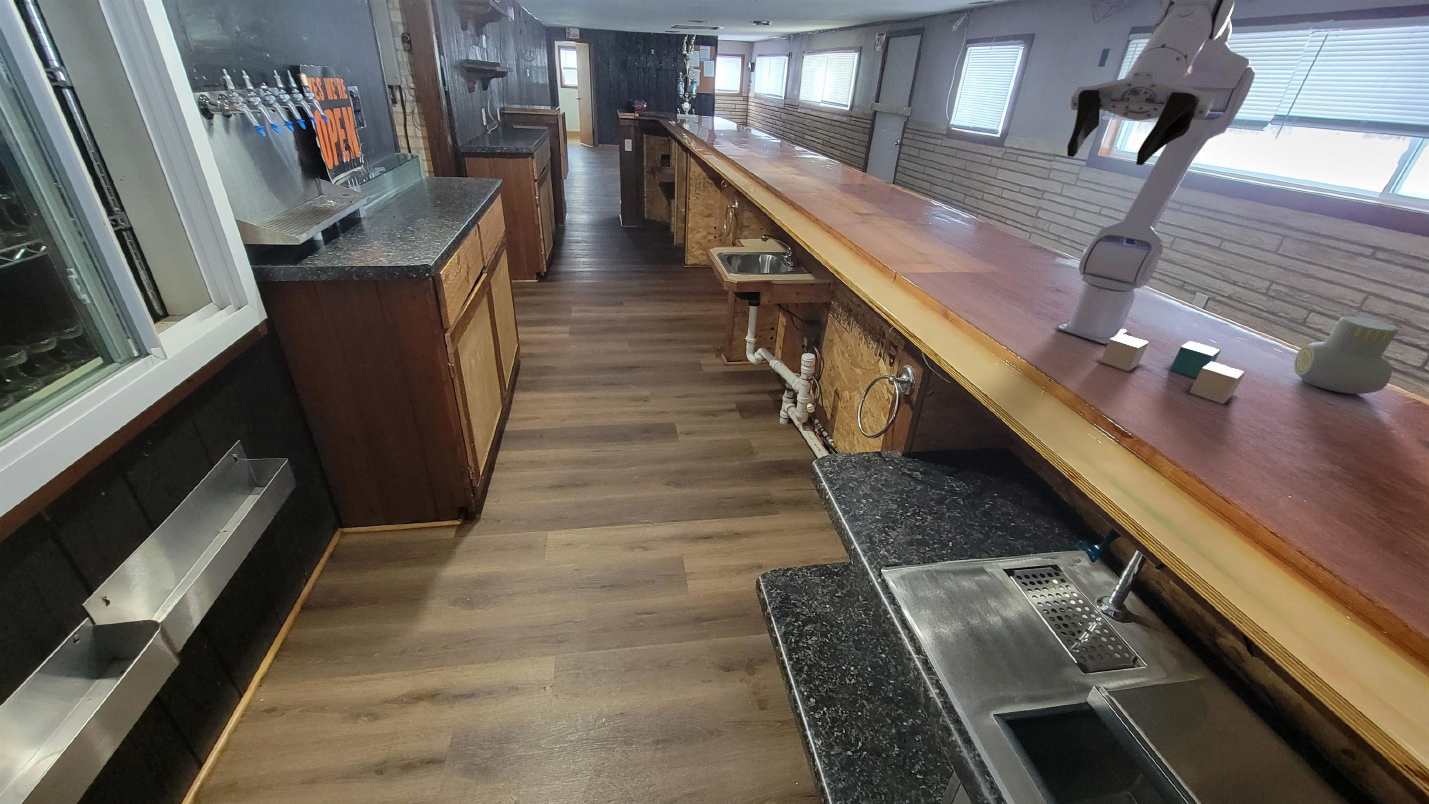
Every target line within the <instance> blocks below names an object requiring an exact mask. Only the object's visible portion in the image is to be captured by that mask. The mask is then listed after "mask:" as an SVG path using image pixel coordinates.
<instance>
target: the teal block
mask: <svg viewBox="0 0 1429 804" xmlns="http://www.w3.org/2000/svg"><path fill="white" fill-rule="evenodd" d="M1220 353H1221V349H1219V348H1216V347H1213V346H1209V345H1206V344H1202V343H1199V342H1195V341H1192V340H1189V341H1188V342H1186V343H1184V344H1183V345H1181V346H1180V348H1179V350H1178V351H1177V354H1176V355H1175V358H1174V360H1173V362H1172V364H1171V365H1170V368H1169V371H1172V372H1174V373H1178V374H1181V375H1184V376H1187V377H1190V378H1193V379H1195V380H1196V379H1197V377H1198V375H1199V373H1200V371H1201V369H1202V368H1203V367H1204V366H1206V365H1207V364H1208V363H1210V362H1211V361H1212V362H1215V363H1216V360H1217V359H1218V356H1220Z"/></svg>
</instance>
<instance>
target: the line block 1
mask: <svg viewBox="0 0 1429 804" xmlns="http://www.w3.org/2000/svg"><path fill="white" fill-rule="evenodd" d="M1148 344H1149V341H1147V340H1143V339H1140V338H1136V337H1133V336H1129V335H1127V334H1119V335H1117V336H1115V337H1113V338H1111V339H1110V340H1109V342H1108V343H1107V345H1106V347H1105V349H1104V352H1103V354H1102V357H1101V359H1100V363H1102V364H1105V365H1108V366H1110V367H1114V368H1117V369H1120V370H1122V371H1126V372H1129V371H1131V370H1132V369H1134V368H1136V367H1137V366H1139V364H1140V362H1141V360H1142V358H1143V355H1144V353H1145V351H1146V349H1147V347H1148Z"/></svg>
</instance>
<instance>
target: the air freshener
mask: <svg viewBox="0 0 1429 804" xmlns="http://www.w3.org/2000/svg"><path fill="white" fill-rule="evenodd" d="M1398 332H1399V331H1398V329H1397V328H1396V326H1394V325H1392V324H1390V323H1386V322H1383V321H1380V320H1376V319H1371V318H1368V317H1361V316H1352V315H1351V316H1343V317H1341V318H1340V319H1339V320H1338V322H1337V323H1336V324H1335V326H1334V328H1332V331H1331V332H1330V334H1329V335H1328V337H1327V338H1326V340H1325V341H1318V342H1312V343H1307V344H1305V345H1303V346H1302V347H1301V348H1300V349H1299V351H1298V352H1297V354H1296V356H1295V359H1294V365H1293V368H1294V372H1295V374H1296V375H1297V376H1298V377H1299V378H1300V379H1301V380H1302V381H1303V382H1305V383H1306V384H1309V385H1311V386H1315V387H1317V388H1321V389H1323V390H1327V391H1331V392H1334V393H1339V394H1347V395H1348V394H1349V395H1359V394H1360V395H1364V394H1371V393H1372V394H1373V393H1376V392H1379V391H1381V390H1384V388H1386V386H1387V385H1388V384H1389V383H1390V380H1391V378H1392V373H1393V368H1392V365H1391V362H1390V361H1389V360H1388V359H1387V358H1385V357H1384V356H1383V355H1384V353H1385V352H1386V350H1387V348H1388V347H1389V345H1391V343H1392V341H1393V339H1394V338H1395V336H1396V335H1397V333H1398Z"/></svg>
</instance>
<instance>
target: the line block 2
mask: <svg viewBox="0 0 1429 804" xmlns="http://www.w3.org/2000/svg"><path fill="white" fill-rule="evenodd" d="M1245 374H1246V371H1245V370H1241V369H1238V368H1234V367H1231V366H1229V365H1225V364H1223V363H1219V362H1216V361H1215V362H1212V361H1211V362H1210V363H1208V364H1207V365H1206V366H1204V367H1203V368H1202V369H1201V371H1200V373H1199V375H1198V377H1197V379H1196V378H1195V381H1194V383H1193V385H1192V386H1191V389H1190V391H1189V393H1190V394H1192V395H1195V396H1198V397H1201V398H1205V399H1207V400H1209V401H1211V402H1212V401H1213V402H1216V403H1219V404H1221V405H1224V404H1225V403H1226V402H1227V401H1229V400H1230V399H1231V398H1232V397H1233V395H1234V393H1235V391H1236V390H1237V388H1238V386H1239V384H1240V383H1241V381H1242V380H1243V378H1244V376H1245Z"/></svg>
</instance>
